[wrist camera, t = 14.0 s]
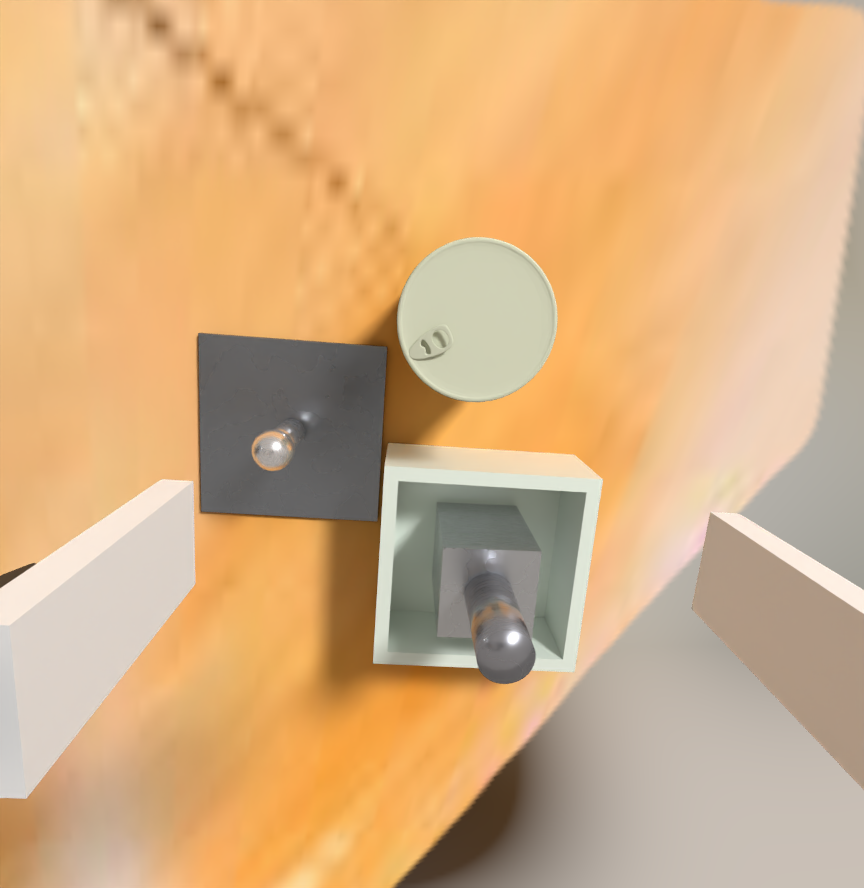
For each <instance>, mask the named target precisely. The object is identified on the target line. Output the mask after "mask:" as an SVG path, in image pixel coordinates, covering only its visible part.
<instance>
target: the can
mask: <svg viewBox="0 0 864 888" xmlns="http://www.w3.org/2000/svg"><path fill="white" fill-rule="evenodd" d="M556 330H557V306H556V300H555V296H554V293H553V290H552V287H551V285H550V283H549V281H548V279H547V277H546V275H545V274H544V272H543V271H542V269H541V268H540V267H539V265H538V264H537V263H536V262H535V261H534V260H533V259H532V258H531V257H530V256H529V255H527V254H526V253H525V252H523V251H522V250H520V249H519V248H517V247H515V246H513V245H511V244H509V243H506V242H504V241H501V240H497V239H492V238H484V237H472V238H465V239H460V240H456V241H453V242H451V243H448V244H446V245H444V246H442V247H440V248H438V249H436V250H435V251H433V252H432V253H431V254H429V255H428V256H427V257H426V258H424V259H423V260H422V261H421V262H420V263H419V265H418V266H417V267H416V268H415V269H414V271H413V272H412V273H411V275H410V276H409V278H408V280H407V282H406V284H405V286H404V288H403V291H402V294H401V297H400V300H399V305H398V311H397V332H398V338H399V342H400V346H401V349H402V351H403V354H404V356H405V358H406V360H407V362H408V364H409V365H410V367H411V368H412V370H413V371H414V372H415V374H416V375H417V376H418V377H419V378H420V379H421V380H422V381H423V382H424V383H425V384H427V385H428V386H429V387H430V388H432V389H433V390H435V391H437V392H438V393H440V394H442V395H444V396H447V397H449V398H452V399H456V400H460V401H466V402H485V401H491V400H496V399H499V398H502V397H505V396H507V395H509V394H511V393H513V392H515V391H517V390H519V389H520V388H521V387H523V386H524V385H525V384H527V383H528V382H529V381H530V380H531V379H532V378H533V377H534V376H535V375H536V374H537V373H538V371H539V370H540V369H541V368H542V366H543V365H544V363H545V362H546V360H547V358H548V356H549V354H550V352H551V349H552V346H553V343H554V340H555V336H556Z"/></svg>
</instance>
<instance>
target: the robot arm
mask: <svg viewBox="0 0 864 888" xmlns="http://www.w3.org/2000/svg"><path fill="white" fill-rule="evenodd" d="M194 585H195V543H194V491H193V481H181V480H164V479H161V480H160V481H158V482H157V483H155V484H154V485H152V486H151V487H149V488H148V489H146V490H145V491H144V492H142V493H141V494H139V495H138V496H136V497H135V498H133V499H132V500H130V501H129V502H127V503H126V504H124V505H123V506H121V507H120V508H118V509H117V510H115V511H114V512H112V513H111V514H109V515H108V516H107V517H105V518H104V519H102V520H101V521H99V522H98V523H96V524H95V525H93V526H92V527H90V528H89V529H87V530H86V531H84V532H83V533H81V534H80V535H78V536H77V537H75V538H74V539H73V540H71V541H70V542H68V543H67V544H65V545H64V546H62V547H61V548H59V549H58V550H56V551H55V552H53V553H52V554H50V555H49V556H47V557H46V558H44V559H43V560H41V561H40V562H38V563H32V564H29V565H26V566H24V567H21V568H19V569H16V570H13V571H11V572H8V573H6V574H3V575H1V576H0V798H23V799H27V797H28V796H29V795H30V793H31V792H32V791H33V790H34V788H35V787H36V786H37V785H38V783H39V782H40V781H41V780H42V778H43V777H44V776H45V774H46V773H47V772H48V771H49V769H50V768H51V767H52V766H53V764H54V763H55V762H56V760H57V759H58V758H59V757H60V755H61V754H62V753H63V752H64V750H65V749H66V748H67V746H68V745H69V744H70V743H71V741H72V740H73V739H74V738H75V736H76V735H77V734H78V732H79V731H80V730H81V729H82V727H83V726H84V725H85V724H86V722H87V721H88V720H89V718H90V717H91V716H92V715H93V713H94V712H95V711H96V710H97V708H98V707H99V706H100V704H101V703H102V702H103V701H104V699H105V698H106V697H107V696H108V694H109V693H110V692H111V690H112V689H113V688H114V687H115V685H116V684H117V683H118V682H119V680H120V679H121V678H122V677H123V675H124V674H125V673H126V671H127V670H128V669H129V668H130V666H131V665H132V664H133V663H134V661H135V660H136V659H137V657H138V656H139V655H140V654H141V652H142V651H143V650H144V649H145V647H146V646H147V645H148V643H149V642H150V641H151V640H152V638H153V637H154V636H155V635H156V633H157V632H158V631H159V629H160V628H161V627H162V626H163V624H164V623H165V622H166V621H167V619H168V618H169V617H170V615H171V614H172V613H173V612H174V610H175V609H176V608H177V607H178V605H179V604H180V603H181V601H182V600H183V599H184V598H185V596H186V595H187V594H188V593H189V591H190V590H191V589H192V588H193V586H194ZM692 610H693V611H694V612H695V613H696V614H697V615H698V616H699V617H700V618H701V619H702V620H703V621H704V622H705V623H706V624H707V625H708V626H709V628H710V629H712V631H713V632H714V633H715V634H716V635H717V636H718V637H719V638H720V639H721V640H722V641H723V642H724V643H725V644H726V645H727V646H728V648H729V649H730V650H731V651H732V652H733V653H734V654H735V655H736V656H737V657H738V658H739V659H740V660H741V661H742V662H743V663H744V664H745V665H746V666H747V667H748V668H749V670H750V671H751V672H752V673H753V674H754V675H755V676H756V677H757V678H758V679H759V680H760V681H761V682H762V683H763V684H764V685H765V686H766V687H767V689H768V690H769V691H770V692H771V693H772V694H773V695H774V696H775V697H776V698H777V699H778V700H779V701H780V702H781V703H782V704H783V705H784V706H785V707H786V709H787V710H788V711H789V712H790V713H791V714H792V715H793V716H794V717H795V718H796V719H797V720H798V721H799V722H800V723H801V724H802V725H803V726H804V727H805V729H807V730H808V732H809V733H810V734H811V735H812V736H813V737H814V738H815V739H816V740H817V741H818V742H819V743H820V744H821V745H822V746H823V747H824V748H825V750H826V751H827V752H828V753H829V754H830V755H831V756H832V757H833V758H834V759H835V760H836V761H837V762H838V763H839V764H840V765H841V766H842V767H843V768H844V770H845V771H846V772H847V773H848V774H849V775H850V776H851V777H852V778H853V779H854V780H855V781H856V782H857V783H858V784H859V785H860V786H861V787H862V788H863V789H864V590H863V589H861V588H860V587H858V586H856V585H855V584H853V583H851V582H850V581H848V580H846V579H845V578H843V577H841V576H840V575H838V574H837V573H835V572H833V571H832V570H830V569H828V568H827V567H825V566H824V565H822V564H820V563H819V562H817V561H815V560H814V559H812V558H810V557H809V556H807V555H806V554H804V553H802V552H801V551H799V550H797V549H796V548H794V547H793V546H791V545H789V544H788V543H786V542H784V541H783V540H781V539H780V538H778V537H776V536H775V535H773V534H771V533H770V532H768V531H766V530H765V529H763V528H761V527H760V526H758V525H757V524H755V523H753V522H752V521H750V520H748V519H747V518H745V517H744V516H742V515H740V514H736V513H719V512H710V517H709V522H708V527H707V532H706V537H705V542H704V547H703V553H702V558H701V563H700V568H699V574H698V578H697V584H696V589H695V594H694V599H693V604H692Z"/></svg>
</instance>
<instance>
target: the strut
mask: <svg viewBox="0 0 864 888" xmlns="http://www.w3.org/2000/svg"><path fill="white" fill-rule="evenodd" d="M541 554H542V551H541V549H540V548H539V546H538V544H537V542H536V540H535V539H534V537H533V535H532V533H531V531H530V530H529V528H528V526H527V524H526V522H525V520H524V519H523V517H522V515H521V513H520V511H519V510H518V508H517V506H511V505H489V504H468V503H446V502H437V507H436V522H435V537H434V552H433V567H432V583H433V595H434V607H435V618H436V630H437V637H455V638H472V640H473V645H474V650H475V655H476V660H477V665H478V668H479V670H480V672H481V673H482V674H483V675H484V676H485V677H486V678H487V679H489V680H491V681H493V682H496V683H500V684H509V683H514V682H517V681H519V680H521V679H523V678H524V677H525V676H526V675H528V674H529V672H530V671H531V670H532V668H533V666H534V663H535V659H536V653H535V648H534V646H533V643H532V634H533V625H534V616H535V607H536V598H537V589H538V580H539V571H540V563H541Z"/></svg>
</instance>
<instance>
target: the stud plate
mask: <svg viewBox="0 0 864 888" xmlns="http://www.w3.org/2000/svg"><path fill="white" fill-rule="evenodd" d="M198 336H199V398H200V461H201V511H203V512H220V513H238V514H256V515H273V516H291V517H308V518H326V519H344V520H361V521H377V520H378V502H379V484H380V467H381V449H382V432H383V414H384V396H385V379H386V361H387V347H385V346H372V345H358V344H345V343H331V342H317V341H304V340H290V339H276V338H263V337H249V336H236V335H222V334H208V333H198Z"/></svg>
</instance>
